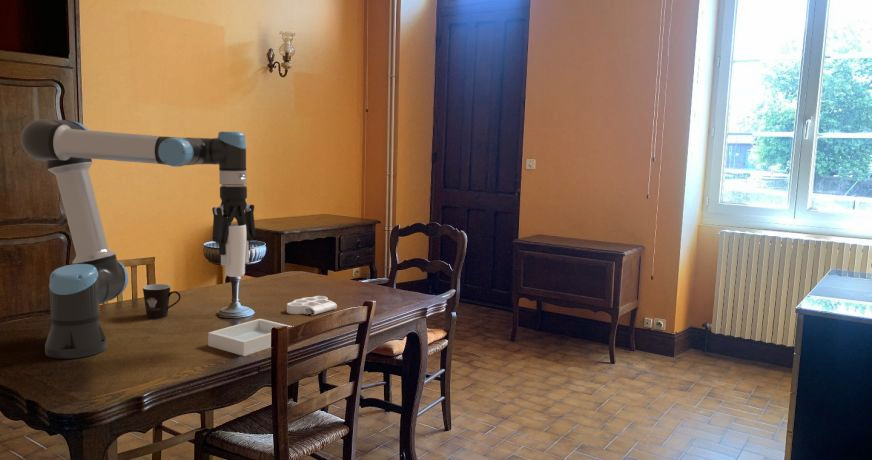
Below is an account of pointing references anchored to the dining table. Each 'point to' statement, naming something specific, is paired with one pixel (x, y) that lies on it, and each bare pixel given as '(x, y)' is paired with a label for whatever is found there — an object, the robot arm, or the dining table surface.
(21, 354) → the dining table surface
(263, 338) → the white shallow tray
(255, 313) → the dining table surface
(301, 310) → the white flat molded slab
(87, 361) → the dining table surface
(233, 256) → the drinking glass
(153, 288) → the coffee mug
